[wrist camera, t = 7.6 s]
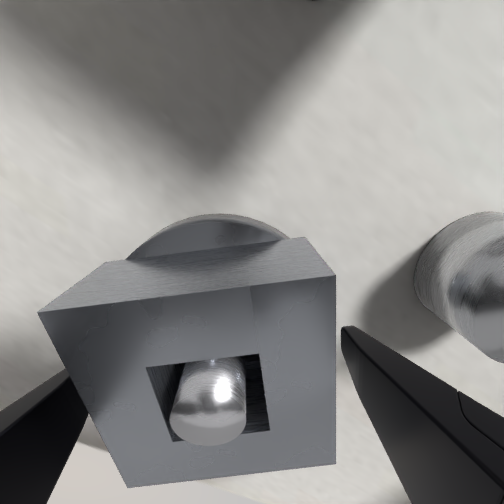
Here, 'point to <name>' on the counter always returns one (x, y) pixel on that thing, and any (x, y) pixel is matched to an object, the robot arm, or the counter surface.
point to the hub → (214, 370)
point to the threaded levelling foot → (467, 280)
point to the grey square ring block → (205, 355)
